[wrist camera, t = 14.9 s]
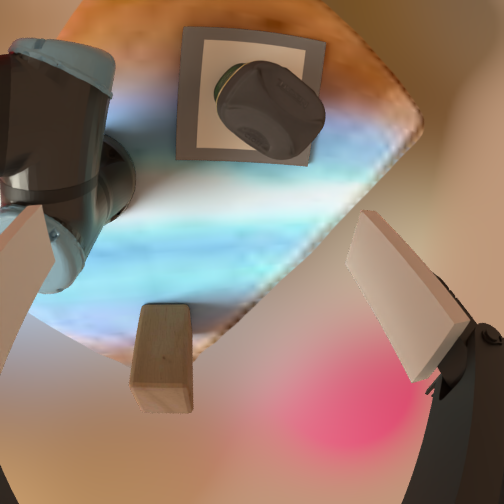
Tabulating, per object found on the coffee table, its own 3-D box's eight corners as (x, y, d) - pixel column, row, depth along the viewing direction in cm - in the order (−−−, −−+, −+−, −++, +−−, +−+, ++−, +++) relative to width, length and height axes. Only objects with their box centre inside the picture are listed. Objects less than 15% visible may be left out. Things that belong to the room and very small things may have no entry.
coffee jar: (203, 99, 38) (199, 117, 22) (238, 55, 35) (260, 42, 19) (258, 136, 42) (290, 181, 26) (293, 95, 39) (347, 115, 24)
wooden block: (189, 302, 59) (188, 388, 43) (192, 334, 65) (194, 415, 48) (140, 302, 58) (126, 387, 41) (148, 335, 63) (140, 414, 47)
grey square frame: (176, 157, 43) (175, 160, 42) (184, 27, 32) (183, 26, 31) (305, 164, 47) (308, 167, 45) (323, 42, 36) (327, 42, 34)
